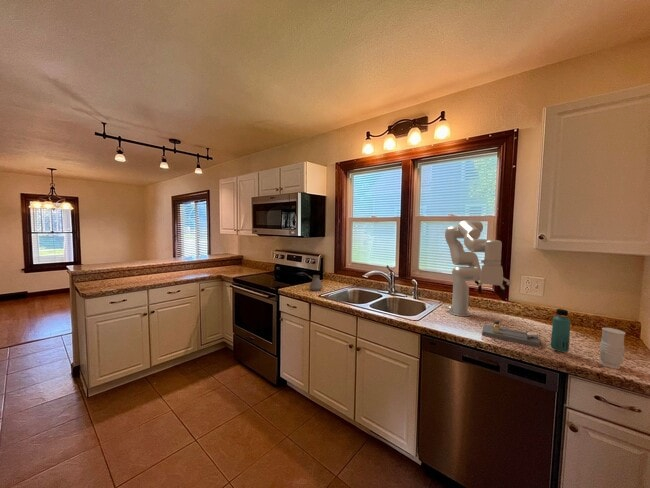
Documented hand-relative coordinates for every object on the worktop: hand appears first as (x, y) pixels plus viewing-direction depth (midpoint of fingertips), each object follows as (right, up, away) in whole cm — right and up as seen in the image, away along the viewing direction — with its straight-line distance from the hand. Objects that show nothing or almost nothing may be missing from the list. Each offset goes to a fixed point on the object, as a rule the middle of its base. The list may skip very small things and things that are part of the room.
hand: (490, 294), depth 142 cm
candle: (+32, -24, -31) cm, 50 cm away
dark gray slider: (+5, -19, +3) cm, 20 cm away
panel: (+8, -22, -3) cm, 23 cm away
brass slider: (+1, -19, -2) cm, 20 cm away
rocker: (+16, -19, -8) cm, 26 cm away
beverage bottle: (+20, -23, -19) cm, 36 cm away
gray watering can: (-102, -13, +93) cm, 139 cm away
